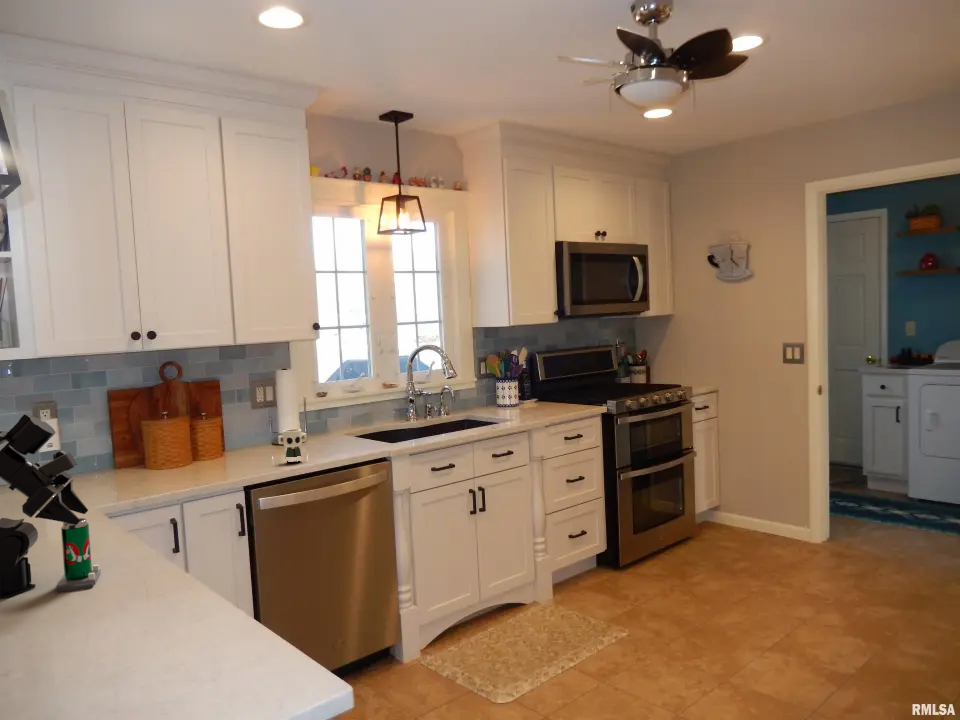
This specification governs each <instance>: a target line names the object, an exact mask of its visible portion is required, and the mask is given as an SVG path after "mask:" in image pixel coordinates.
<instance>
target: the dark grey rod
mask: <svg viewBox="0 0 960 720" xmlns="http://www.w3.org/2000/svg"><path fill="white" fill-rule="evenodd" d="M93 587H94V585H93V583H85V584H79V585H72V586H65V587H58V588H57V587H56V589H55V594H62V593H61V592H63V593H68V592H67V591H70V592H76V591H75V590H77V591H81V590H82V589H83V590H89V588H90V589H93Z"/></svg>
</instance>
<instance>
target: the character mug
mask: <svg viewBox="0 0 960 720" xmlns="http://www.w3.org/2000/svg"><path fill="white" fill-rule="evenodd" d="M282 440H283V441H282ZM277 441H278V445H283V447H285V448H286V451H285V458H286V457H297V456H301V457H302V453H301V449H300V446H302V443H305V442H307V433H306V432H303V433H302V429H301V428H288V429H285V430H282V435H281V434H280V435H278V437H277Z"/></svg>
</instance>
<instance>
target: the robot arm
mask: <svg viewBox="0 0 960 720" xmlns="http://www.w3.org/2000/svg"><path fill="white" fill-rule="evenodd" d="M55 434H56V430H55V429H54V428H53V427H52V425H50V424H49V423H48V422H46V421H43V420H41V419H39V418H38V417H35V416H33V415H31V414H30V413H25V414H23V415H22V416H21V417H20V418H19V420H18V421H17V422H16V424H15V425H14V426H13V427H12V428H11V429H9V430H8V431H6V430H5V431H4V430H3V431H2V430H0V445H4V444H5V443H6V444H5V445H4V446H3V447H2V448H1V449H0V479H1V480H2V481H4V482H5V483H7V484H8V485H9V487H8V489H9V490H11V491H14V490H16V491H18V492H19V493H21V494H22V495H24V497H27V498H26V500H25V502H24V504H22V505H21V508H22V513H23V514H24V515H26V516H27V517H28V518H30V519H31V518H33V516H34V518H35V519H44V520H45V519H46V520H49V521H57V522H61V523H63V522H65V523H70V524H75V525H77V524H78V523H79V522H80V519H79V517H78V516H77V515H76V514H75V513H79V514H82V515H85V514H86V513H87V512H88V511H89V509H88V507H87V506H86V505H85V503H84V502H83V501H82V500H81V499H80V498H79V496H78V495H77V494H76V492H75V491H74V488H73V487H74V486H73V485H74V479H72V477H73V476H72V475H71V474H69V473H68V471H71V470H72V469H73V468H75V467H76V466H77V465H78V463H77V461H76V459H75V456H74V454H71V452H70V451H68V452H65V451H64V450H62V449H61V450H59V451H57V452H55V453H53V454H52V455H53V459H52V460H49V461H48V462H46V463H45V464H42V463H41V462H39V461H35V462H33V461H31V460H29V459H28V458H27V457H25V456H27V455H28V454H31V455H36V454H37V452H39V451H40V449H41V448H43V447H44V446H45V444H47V443H48V442H49V441H50V439H51V438H52V437H54V435H55ZM23 455H24V456H23ZM37 512H38V513H37ZM74 512H75V513H74ZM36 513H37V514H36ZM35 514H36V515H35ZM38 537H39V532H38V529H37V527H35V526H34V524H33V523H31V522H28V521H25V518H20V519H11V518H8V517H7V518H6V517H1V518H0V598H3V599H5V598H6V599H8V598H10V597H13V596H15V595H19V594H20V593H24V592H26V591H28V590H31V589H34V588H36V583H32V571H31V564H30V563H29V557H27V555H28V554H29V550H30V548H32V547H33V546H34V545H35V544H36V542H37V540H38Z"/></svg>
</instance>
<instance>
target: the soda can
mask: <svg viewBox="0 0 960 720" xmlns="http://www.w3.org/2000/svg"><path fill="white" fill-rule="evenodd" d="M78 518H79V517H78ZM79 519H80V522H79V523H78V524H77V525H75V524H70V523H65V522H62V526H61V528H60V532H61V544H62V545H61V548H62V560H63V573H64V574H63V575H64V577H65V578H66V579H67V580H80V579H84V578H86V577H88V574H89V573H92V570H93V566H92V551H91V539H90V538H91V537H90V524H89V522H87V518H84V517H83V518H82V517H81V518H79Z"/></svg>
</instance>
